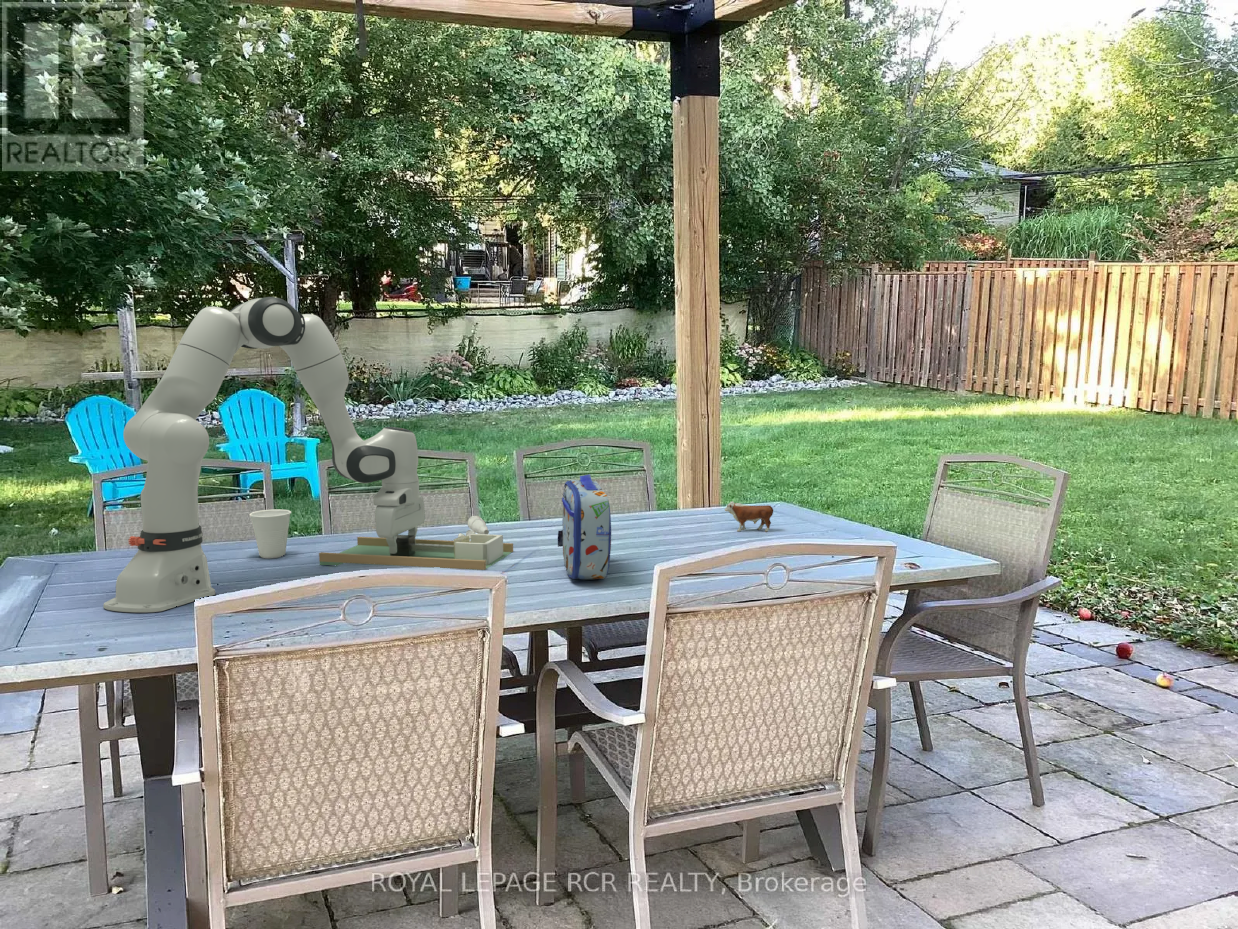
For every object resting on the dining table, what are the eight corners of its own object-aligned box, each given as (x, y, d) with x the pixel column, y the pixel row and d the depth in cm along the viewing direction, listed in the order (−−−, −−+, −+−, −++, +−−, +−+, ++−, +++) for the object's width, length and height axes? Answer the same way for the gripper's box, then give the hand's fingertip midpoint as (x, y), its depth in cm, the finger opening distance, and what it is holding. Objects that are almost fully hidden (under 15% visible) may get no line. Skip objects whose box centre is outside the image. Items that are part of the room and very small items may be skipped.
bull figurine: (724, 528, 283) (724, 500, 282) (772, 529, 281) (773, 500, 280) (724, 531, 278) (724, 502, 277) (773, 532, 277) (773, 503, 275)
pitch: (484, 574, 231) (484, 561, 231) (319, 565, 241) (318, 553, 240) (513, 555, 251) (513, 543, 250) (359, 548, 260) (359, 536, 260)
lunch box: (556, 559, 246) (555, 470, 243) (598, 558, 247) (597, 469, 244) (569, 587, 219) (567, 487, 216) (616, 585, 220) (615, 486, 217)
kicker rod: (462, 559, 240) (461, 540, 240) (388, 556, 245) (388, 536, 244) (469, 555, 245) (469, 535, 244) (398, 551, 249) (397, 532, 249)
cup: (280, 561, 246) (277, 517, 244) (243, 559, 248) (241, 515, 246) (300, 552, 255) (298, 509, 254) (265, 551, 257) (263, 508, 256)
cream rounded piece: (479, 556, 258) (463, 543, 256) (468, 546, 271) (453, 533, 269) (499, 533, 259) (484, 520, 257) (487, 523, 272) (473, 511, 270)
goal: (487, 565, 236) (486, 544, 235) (455, 563, 237) (454, 542, 237) (503, 555, 246) (502, 535, 246) (472, 553, 248) (472, 533, 247)
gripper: (407, 486, 255) (409, 539, 257) (369, 499, 235) (371, 557, 237) (430, 487, 254) (432, 540, 255) (394, 500, 234) (396, 558, 236)
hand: (402, 548), depth 246 cm, fingers open, 8 cm apart
